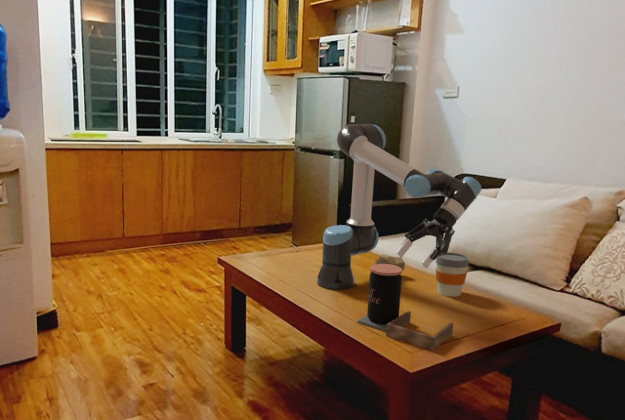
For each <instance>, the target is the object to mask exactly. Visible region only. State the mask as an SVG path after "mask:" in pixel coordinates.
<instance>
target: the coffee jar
mask: <svg viewBox="0 0 625 420" xmlns="http://www.w3.org/2000/svg"><path fill="white" fill-rule="evenodd" d="M369 270H370V273H369V281H368V282H369V283H368V296H367V314H366V316H368V318H369V320H370V321H372V322H374V323H377V324H383V325H387V324H388V323H389V322H391V321H393V320H394V319H396V318H397V317H399V316H400V308H401V307H400V306H401V291H402V280H403V279H402V278H403V277H402V273H403V271H402V268H400V267H398V266H395V265H391V264H375V263H374V264H372V265H371V266H370V267H369Z"/></svg>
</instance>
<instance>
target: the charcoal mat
mask: <svg viewBox="0 0 625 420" xmlns="http://www.w3.org/2000/svg"><path fill="white" fill-rule="evenodd" d="M356 322H357V324H361V325H364V326H367V327H369V328H370V327H371V328H373V329H377V330H380V331H383V332H386V329H387V325H383V324H377V323H374V322H372V321H370V320H369V318H368V316H367V315H365V316H363V317H361V318H360V319H358V320H357V321H356Z"/></svg>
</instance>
